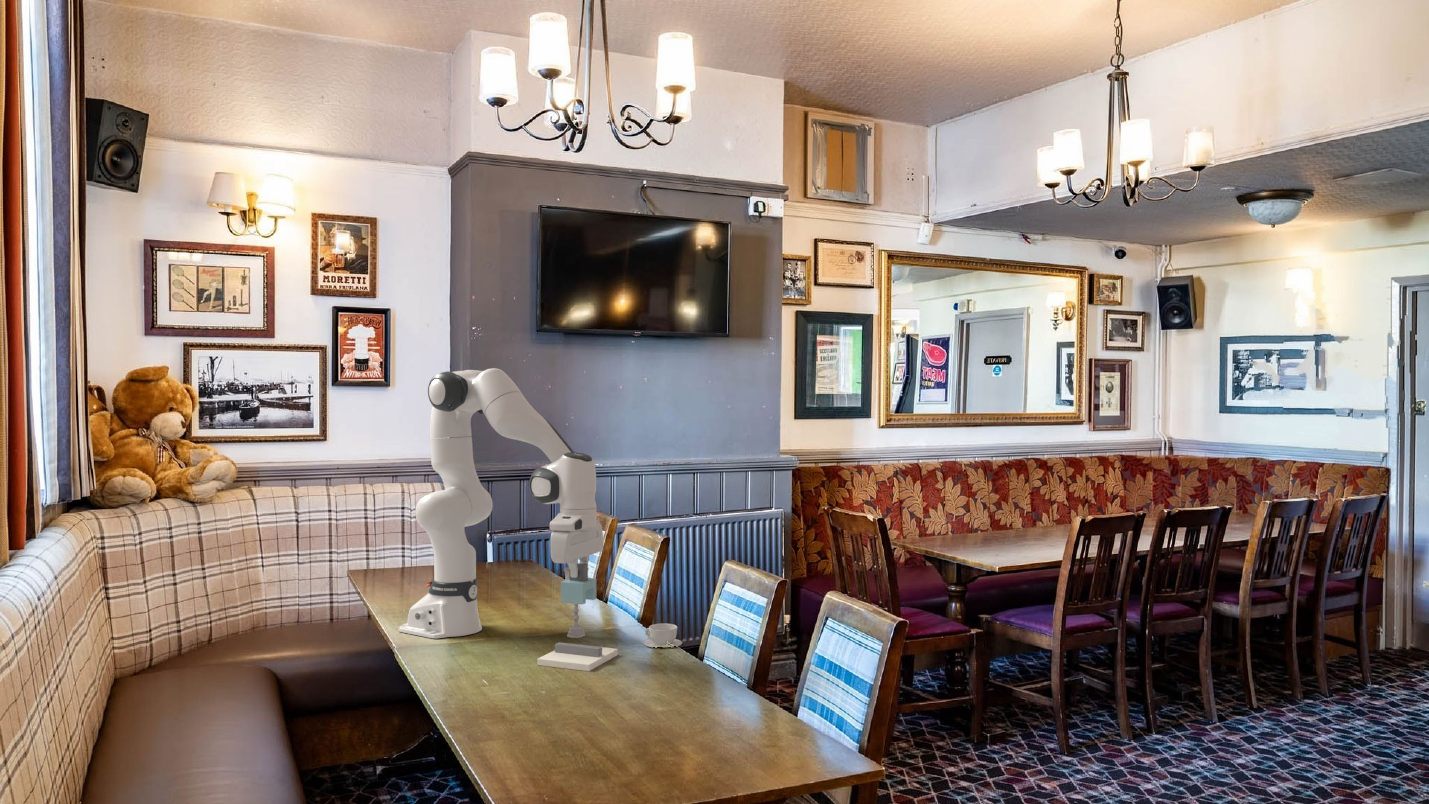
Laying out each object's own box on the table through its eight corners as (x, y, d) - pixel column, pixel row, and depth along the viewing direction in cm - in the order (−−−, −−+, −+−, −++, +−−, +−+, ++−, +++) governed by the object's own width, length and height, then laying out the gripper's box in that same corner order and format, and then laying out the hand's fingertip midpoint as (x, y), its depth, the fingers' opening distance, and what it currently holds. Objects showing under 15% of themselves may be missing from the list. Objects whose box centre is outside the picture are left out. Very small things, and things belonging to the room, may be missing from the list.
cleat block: (560, 602, 236) (560, 565, 236) (575, 596, 243) (574, 560, 243) (582, 604, 234) (582, 567, 234) (596, 598, 241) (596, 562, 241)
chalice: (583, 639, 258) (583, 571, 258) (559, 638, 259) (559, 570, 259) (592, 632, 265) (592, 566, 265) (568, 631, 267) (568, 565, 266)
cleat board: (537, 665, 234) (537, 650, 234) (568, 649, 248) (568, 635, 248) (588, 671, 229) (588, 656, 229) (617, 655, 243) (617, 641, 243)
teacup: (688, 642, 257) (688, 624, 257) (672, 651, 247) (672, 633, 247) (654, 638, 261) (654, 620, 260) (637, 647, 251) (637, 629, 251)
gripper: (587, 513, 249) (587, 567, 249) (545, 524, 230) (545, 582, 230) (609, 514, 247) (609, 569, 247) (569, 525, 228) (569, 584, 228)
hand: (578, 575), depth 238 cm, fingers closed on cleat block
